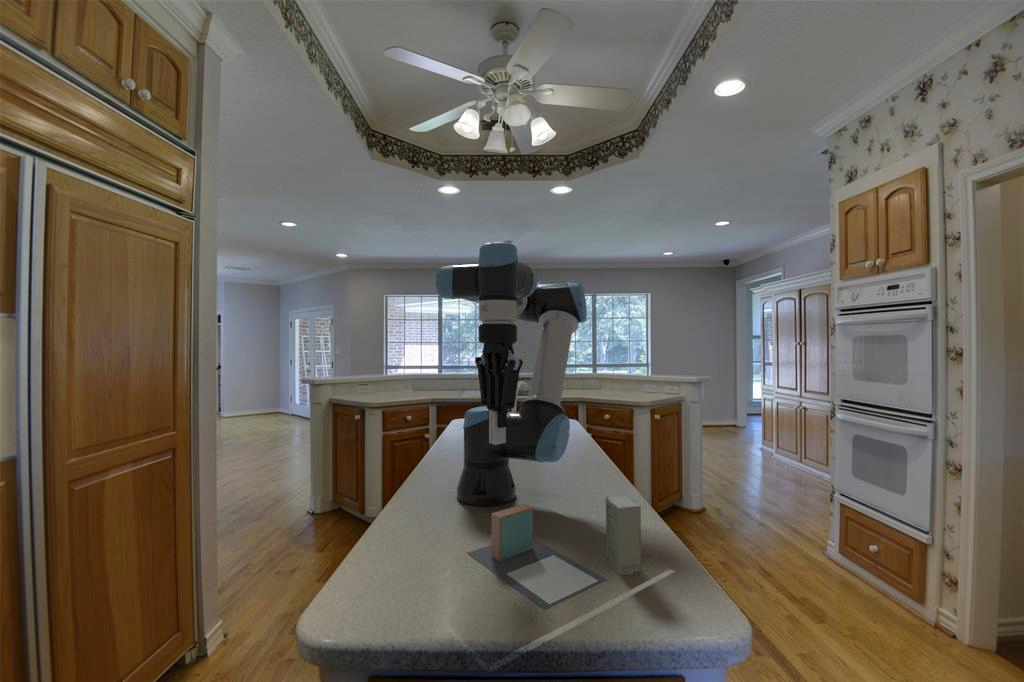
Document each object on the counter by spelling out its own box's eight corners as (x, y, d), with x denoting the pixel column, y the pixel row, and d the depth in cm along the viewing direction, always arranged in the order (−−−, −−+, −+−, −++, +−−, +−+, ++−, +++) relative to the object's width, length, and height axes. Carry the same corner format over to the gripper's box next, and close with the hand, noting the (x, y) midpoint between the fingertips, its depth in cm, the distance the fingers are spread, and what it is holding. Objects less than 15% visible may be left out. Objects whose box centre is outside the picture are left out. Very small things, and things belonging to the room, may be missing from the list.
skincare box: (642, 576, 78) (642, 506, 78) (617, 578, 77) (618, 508, 77) (627, 559, 84) (627, 494, 84) (604, 560, 84) (604, 495, 84)
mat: (466, 556, 85) (466, 552, 85) (524, 536, 94) (524, 533, 94) (544, 613, 68) (544, 609, 68) (606, 583, 76) (606, 579, 76)
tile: (491, 556, 84) (491, 513, 84) (524, 544, 89) (525, 503, 89) (499, 562, 82) (499, 518, 82) (533, 549, 87) (533, 507, 87)
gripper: (463, 323, 92) (463, 439, 92) (502, 322, 81) (502, 453, 81) (493, 324, 96) (493, 434, 97) (534, 322, 86) (534, 447, 86)
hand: (497, 442), depth 89 cm, fingers closed
